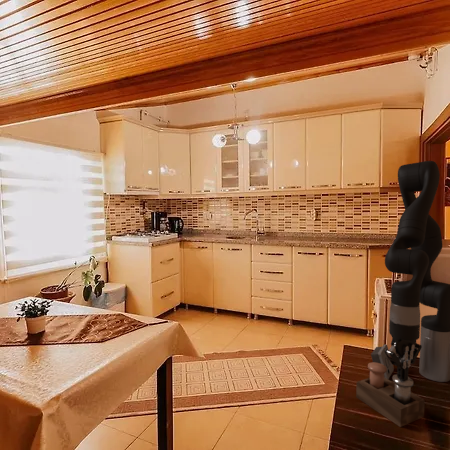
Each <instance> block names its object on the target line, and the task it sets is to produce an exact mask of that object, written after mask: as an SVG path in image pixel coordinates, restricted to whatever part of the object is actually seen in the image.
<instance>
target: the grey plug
mask: <svg viewBox="0 0 450 450" xmlns="http://www.w3.org/2000/svg"><path fill="white" fill-rule="evenodd" d="M391 378H392V379H391V381H392V382H394V383H395V388H394V399H395V400H397V401H398V402H400V403H402V404H403V405H406V404H409V403H410V393H411V392H412V391H411V390H412V389H411V388H412V387H413V386H414V380H413V379H412V378H411V377H410V376H408V380H405V381H402V380H400V379H398V377H397V374H394V375H392V377H391Z"/></svg>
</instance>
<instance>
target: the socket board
mask: <svg viewBox="0 0 450 450" xmlns="http://www.w3.org/2000/svg"><path fill="white" fill-rule="evenodd" d="M394 388H395V383H394V382H393V380H390V379H386V378H385V377H384V387H383V388H381V389H377V388H375V387H373V386H372V385H370V377H367V378H364V379H362V380H358V381H356V388H355V389H356V391H355V392H356V393H355V395H356V399H358V400H360V401H361V402H363V403H364V404H365V405H367V406H369V407H370V408H371V409H373V410H374V411H375V412H377V413H379V414H380V415H382V416H383V417H385V418H386V419H388V420H389V421H390V422H392V423H394V424H395V425H396V426H398V427H400V428H401V427H404V426H406V425H409V424H410V423H413V422H415V421H417V420H419V419H422V418H424V417H425V403H426V402H425V398H423V397H421V396H419V395H417V394H416V393H413V392H412V391H411V393H410V403H409V404H406V405H403V404H402V403H400V402H398V401H397V400H395V399H394Z"/></svg>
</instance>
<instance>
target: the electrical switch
mask: <svg viewBox="0 0 450 450" xmlns="http://www.w3.org/2000/svg"><path fill="white" fill-rule="evenodd" d="M386 349H388V350H389V347H388V344H387V343H386V344H383V345H382V346H376V347H375V348H374V349H373V351H372V352H371V353H370V356H371V360H372V362H376V363H380V364H383V365H384V366H386V368H387V371H386V373H384V378H386V379H388V380H390V377H391V376H392V374H393V372H394V369H395V368H394V365H393V364H392V363H391V362H390V360H389V359H388V357H387V355H386V354H385V350H386Z"/></svg>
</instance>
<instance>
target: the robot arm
mask: <svg viewBox="0 0 450 450" xmlns="http://www.w3.org/2000/svg"><path fill="white" fill-rule="evenodd" d="M440 178H441V177H440V169H439V165H438V163H437V162H436V161H433V160H423V161H418V162H414V163H412V162H411V163H408V164H402V165H400V166H399V168H398V170H397V181H398V182H397V183H398V186H399V191H400V195H401V198H402V202H403V205H404V211H403V213H402V214H401V216H400V217H399V221H398V227H397V231H396V235H395V238H394V240H393V242H392V243H391V245H390V247H389V248H388V250H387V252H386V253H385V254H386V255H385V257H384V265H385V268H386V269H387V271H389V272H390V273H392V274H393V273H394V274H400V275H401V274H402V275H409V276H410V275H411V276H412V278H411V279H409V280H398V281H395V282H393V283H392V284H391V294H390V307H389V319H388V320H389V322H388V323H389V324H388V327H389V329H388V333H389V335H390V336H391V343H390V347H389V348H388V349H386V350H385V354H386V355H387V357H388V359H389V360H390V362H391V363H392V364H393V366H395V367H397V368H396V369H397V370H396V375H397V377H398V379H400V380H402V381H405V380H408V377H409V371H410V369H409V368H410V367H411V364H412V365H414V364H415V362H416V360H417V358H418V356H419V370H418V372H419V374H420V375H421V376H422V377H424V378H426V379H427V380H431V381H434V382H439V383H446V382H449V381H450V283H446V282H442V281H436V280H433V279H432V271H431V270H432V266H433V264H434V263H435V261H436V259H438V256H439V255H440V253H441V251H442V250H443V237H442V231H441V230H442V229H441V227H440V225H439V223H438V221H436V220H435V219H434V218H433V216H431V214H430V212H431V211H430V210H431V207H432V205H433V202H434V200H435V197H436V194H437V191H438V188H439V185H440V184H439V183H440ZM415 192H416V193H417V192H420V193H419V195H418V196H416V194H415ZM420 304H421V305H423V306H425V307H429V308H433V309H437V312H436V314H427V315H424V316H422V317H421V307H420ZM419 339H420V343H417V340H419Z"/></svg>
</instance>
